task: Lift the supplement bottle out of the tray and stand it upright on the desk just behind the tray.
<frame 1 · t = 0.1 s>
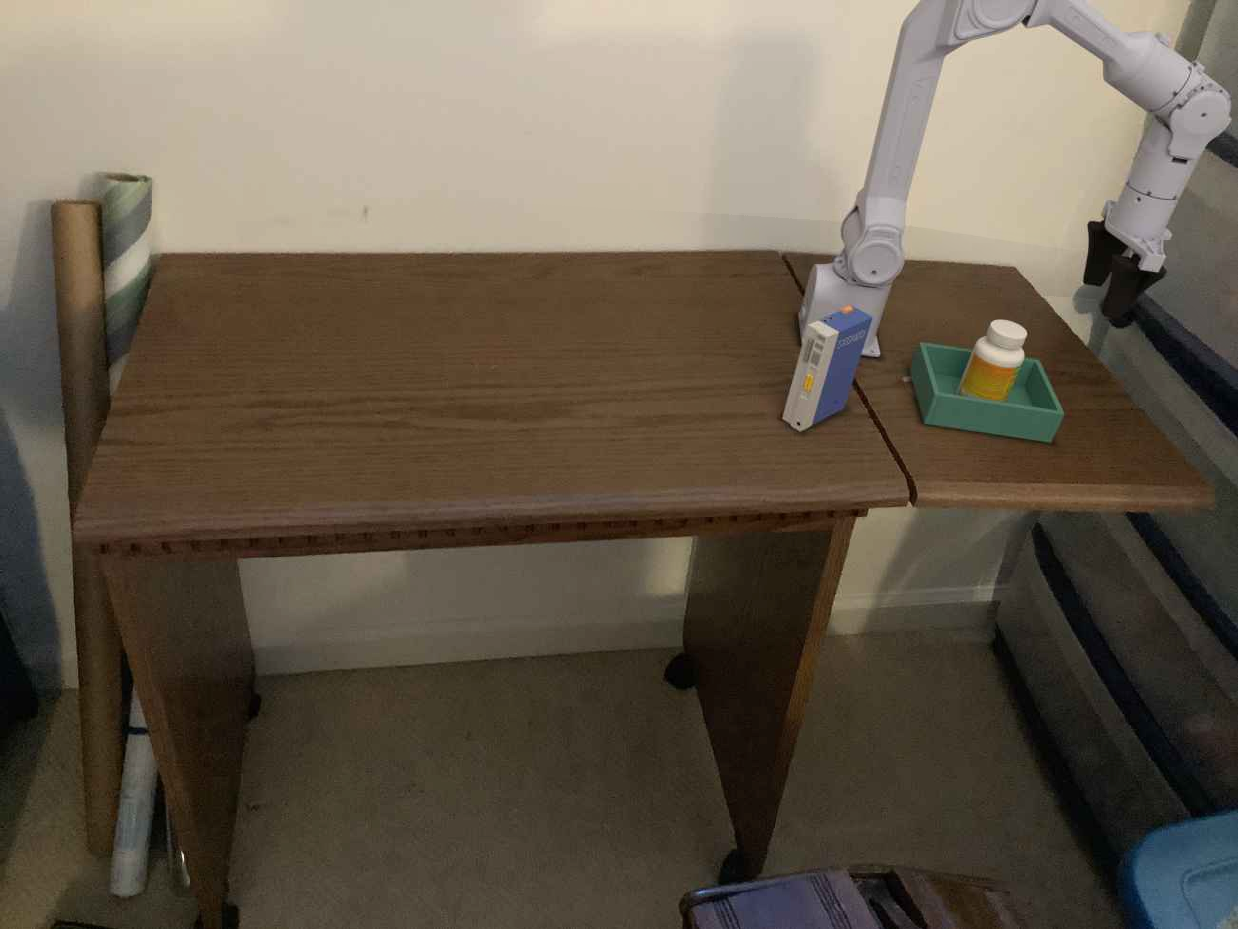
hand: (1101, 299, 118), 10 cm above the table, tool pointing down, fingers open, 7 cm apart
walkman: (813, 415, 110), on the table
tray: (977, 404, 116), on the table
supplement bottle: (978, 403, 116), resting on tray
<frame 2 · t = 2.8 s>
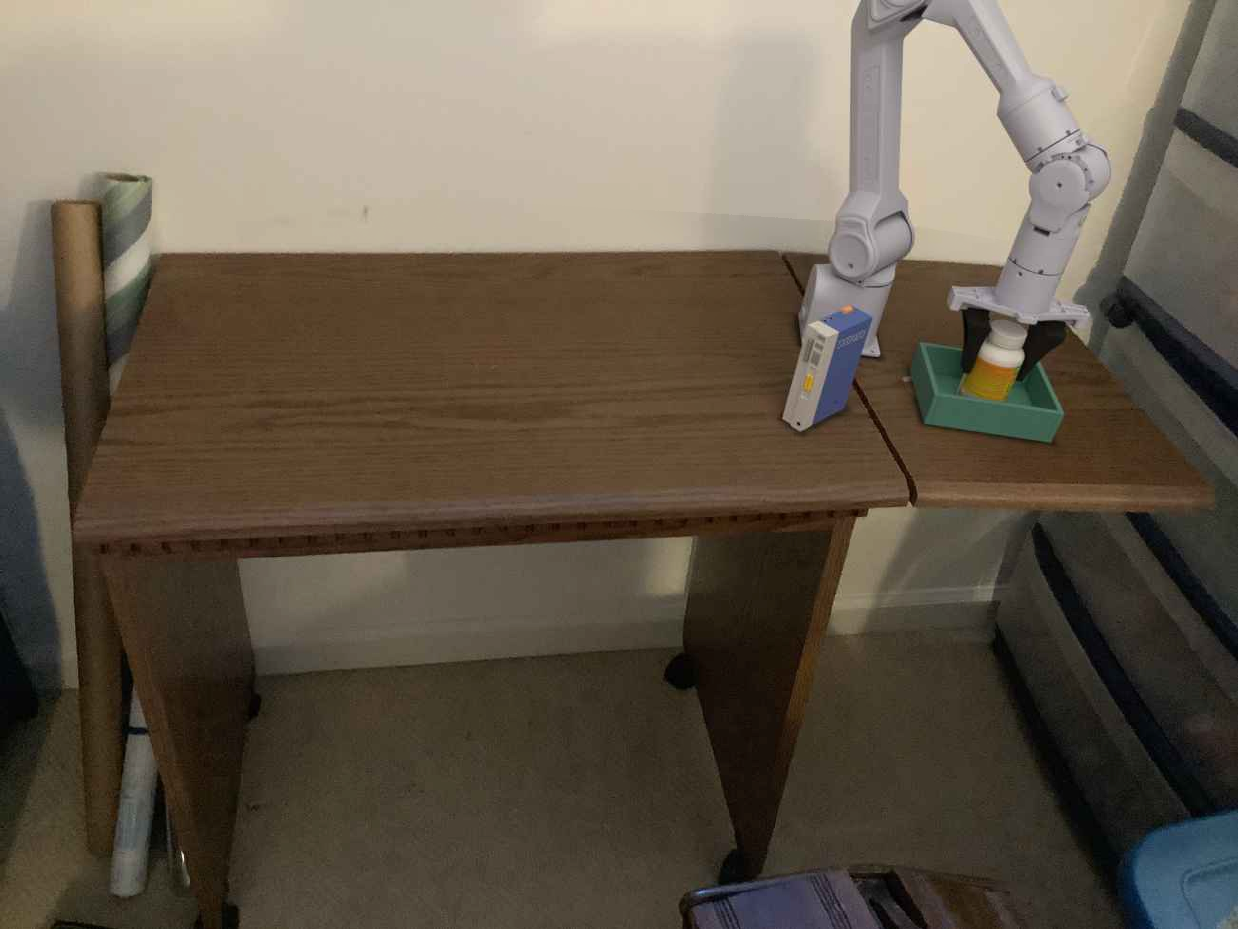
hand: (990, 372, 113), 4 cm above the table, tool pointing down, fingers closed on supplement bottle, 5 cm apart
supplement bottle: (978, 403, 116), resting on tray, touching gripper
everything else where it was.
when the fingers open (4 cm above the table, at t = 7.4 s): supplement bottle stays where it is, on the table.
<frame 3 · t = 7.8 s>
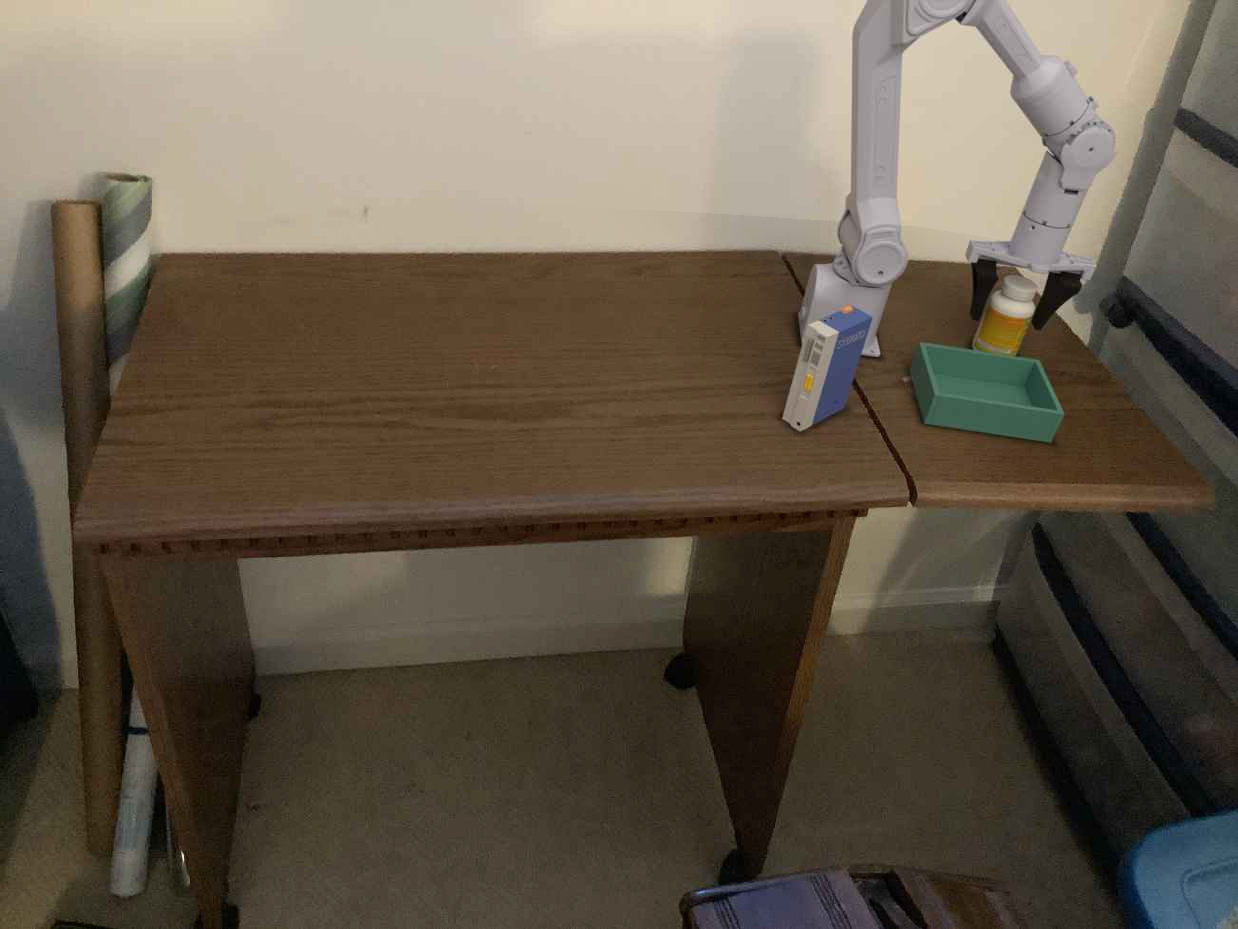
hand: (1005, 321, 123), 4 cm above the table, tool pointing down, fingers open, 7 cm apart
supplement bottle: (992, 353, 126), on the table
everything else where it was.
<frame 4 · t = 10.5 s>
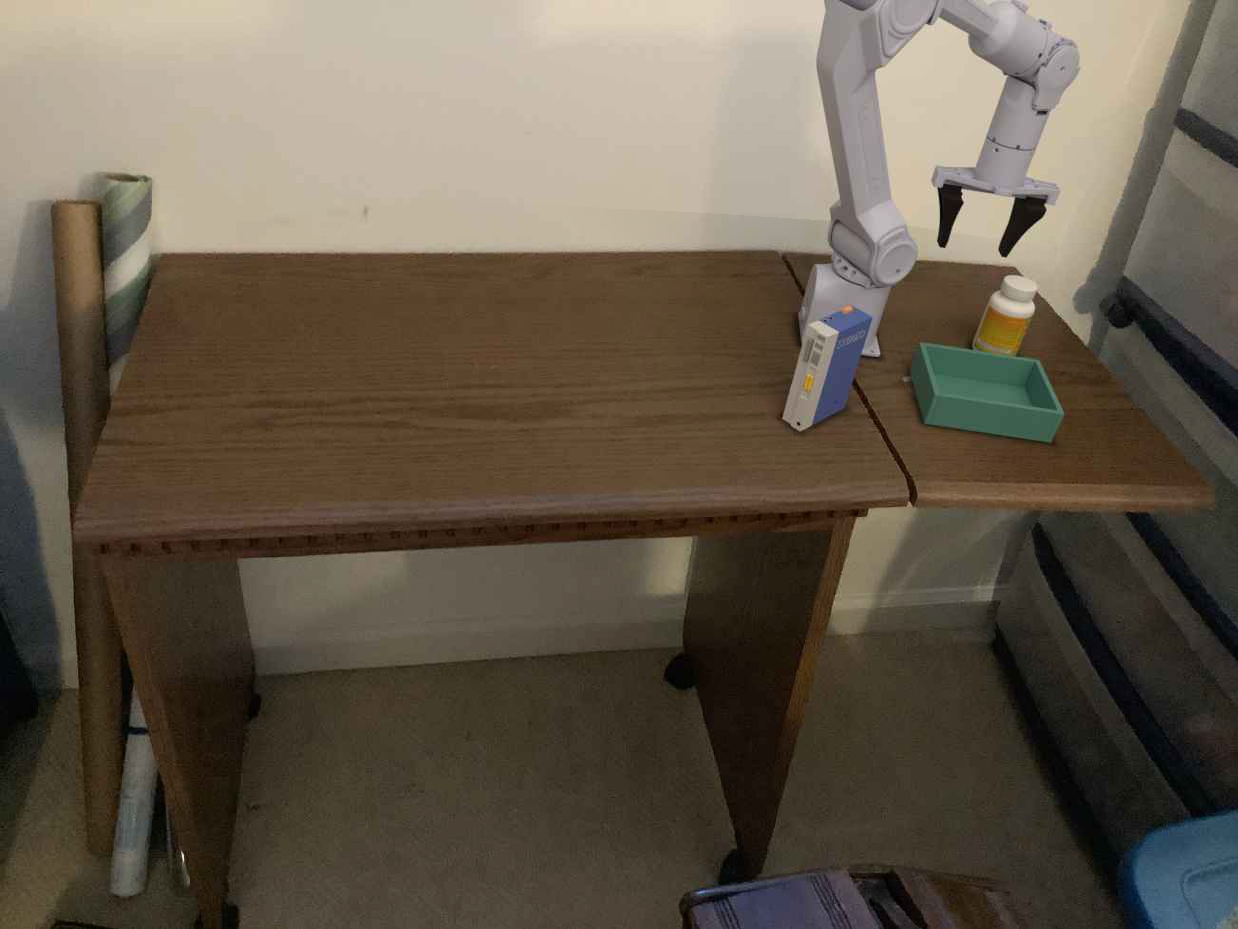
hand: (971, 249, 124), 10 cm above the table, tool pointing down, fingers open, 7 cm apart
nothing on the table moved.
at the end: supplement bottle inside the target area (0.0 cm from its centre), on the table; supplement bottle tilted 0°; supplement bottle touching table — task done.
